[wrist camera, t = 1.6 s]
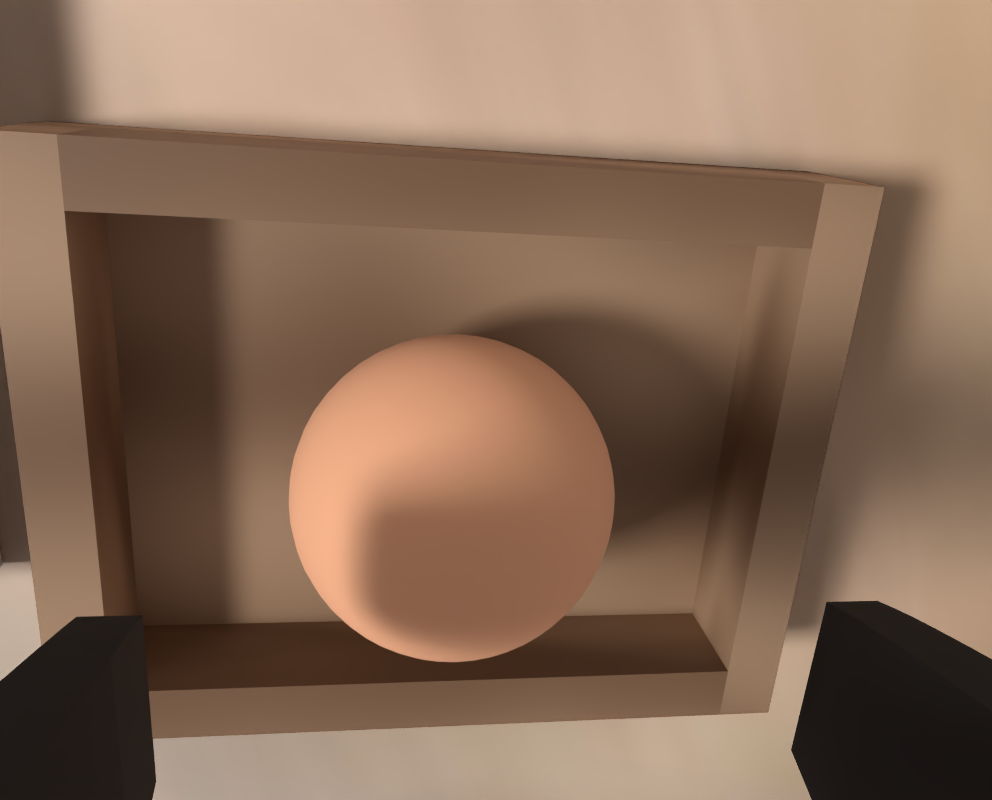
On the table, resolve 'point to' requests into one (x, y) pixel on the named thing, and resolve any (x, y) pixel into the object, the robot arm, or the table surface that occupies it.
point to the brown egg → (451, 498)
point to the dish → (384, 323)
